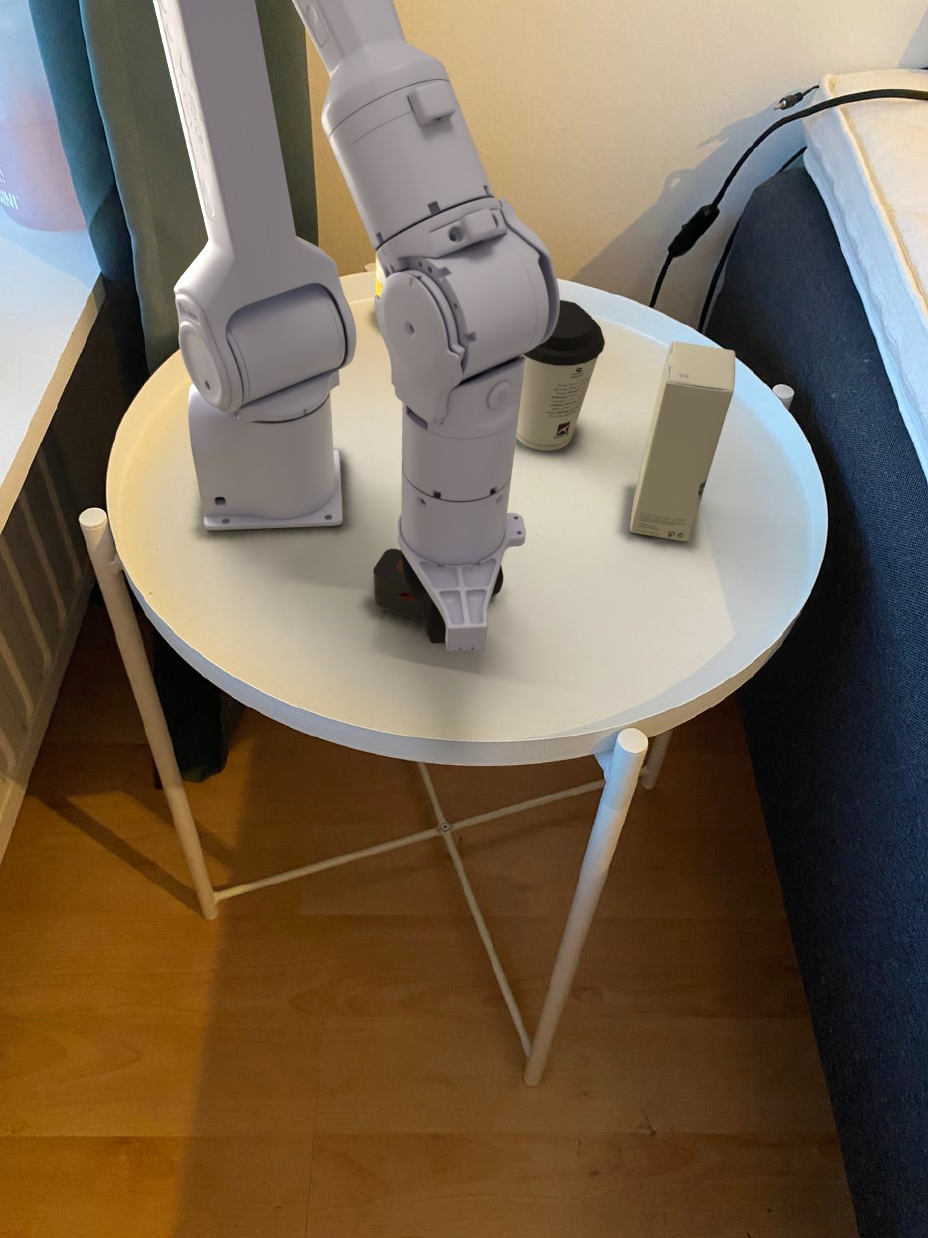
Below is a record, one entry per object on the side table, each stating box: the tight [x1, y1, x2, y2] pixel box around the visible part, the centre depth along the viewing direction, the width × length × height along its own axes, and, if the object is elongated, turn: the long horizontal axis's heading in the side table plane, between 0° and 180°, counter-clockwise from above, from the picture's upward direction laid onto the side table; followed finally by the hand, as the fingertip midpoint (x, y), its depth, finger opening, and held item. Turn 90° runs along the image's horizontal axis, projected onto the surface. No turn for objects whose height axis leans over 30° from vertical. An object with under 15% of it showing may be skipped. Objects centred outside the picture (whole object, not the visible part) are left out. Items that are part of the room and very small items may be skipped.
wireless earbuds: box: [372, 548, 424, 623], centre depth 63 cm, size 5×7×3 cm, turn 69°
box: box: [629, 340, 736, 542], centre depth 66 cm, size 5×4×13 cm
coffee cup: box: [516, 299, 606, 452], centre depth 73 cm, size 7×7×10 cm
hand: (445, 635), depth 60 cm, fingers closed
